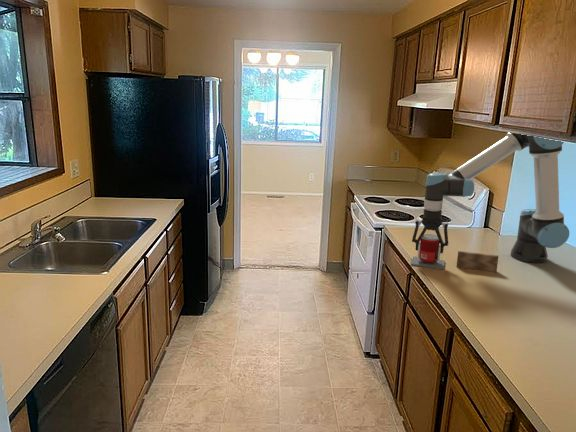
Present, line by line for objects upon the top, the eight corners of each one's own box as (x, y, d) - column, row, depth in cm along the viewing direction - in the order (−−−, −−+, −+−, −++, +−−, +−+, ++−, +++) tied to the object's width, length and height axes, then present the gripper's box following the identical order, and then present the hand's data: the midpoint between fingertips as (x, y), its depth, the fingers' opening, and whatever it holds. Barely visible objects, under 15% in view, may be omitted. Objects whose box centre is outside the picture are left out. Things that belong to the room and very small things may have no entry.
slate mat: (444, 262, 197) (445, 260, 197) (443, 269, 188) (443, 267, 188) (413, 258, 202) (413, 256, 202) (410, 265, 193) (410, 263, 193)
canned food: (438, 263, 190) (441, 239, 187) (419, 262, 192) (421, 238, 189) (436, 257, 197) (438, 234, 195) (418, 256, 199) (420, 233, 196)
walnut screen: (496, 270, 187) (498, 255, 185) (496, 272, 186) (498, 256, 184) (456, 265, 193) (458, 250, 191) (456, 266, 191) (458, 251, 190)
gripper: (458, 209, 188) (453, 258, 194) (409, 205, 196) (405, 253, 202) (458, 213, 182) (452, 264, 187) (407, 208, 189) (403, 258, 195)
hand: (428, 258), depth 194 cm, fingers closed on canned food, 8 cm apart
